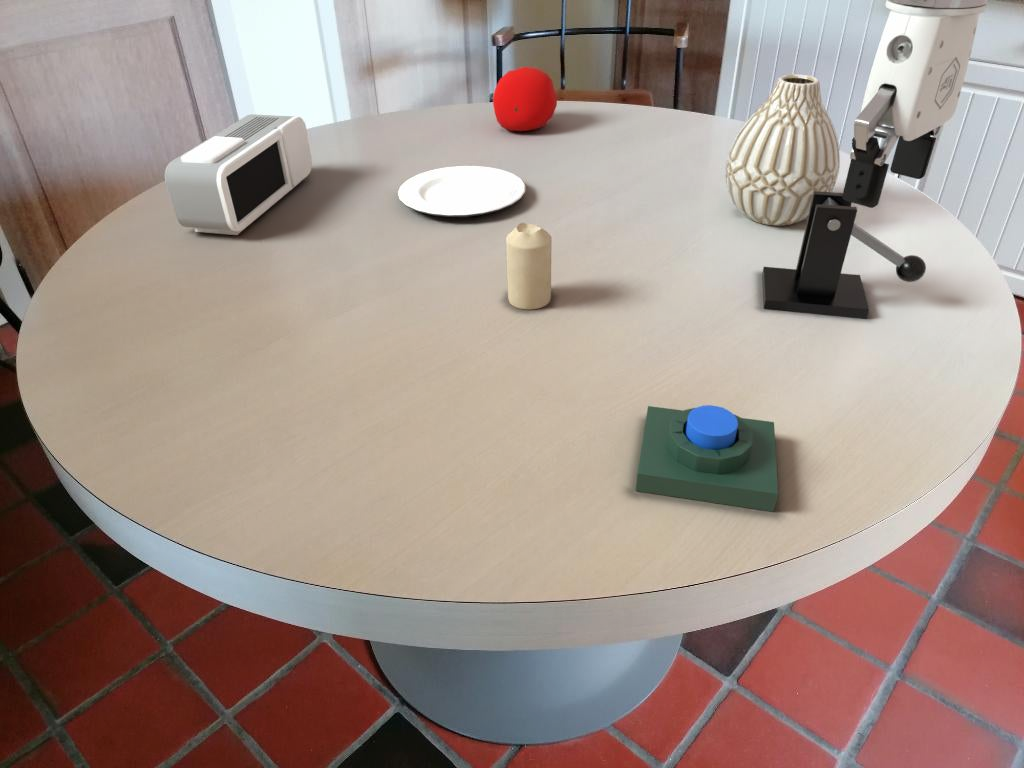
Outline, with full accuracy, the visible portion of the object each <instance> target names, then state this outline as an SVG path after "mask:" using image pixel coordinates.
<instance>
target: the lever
mask: <svg viewBox="0 0 1024 768" xmlns="http://www.w3.org/2000/svg"><path fill="white" fill-rule="evenodd" d="M822 205H835V206H841V205H840V204H838V203H837V202H835V201H834V200H832V199H831V198H829V197H828V198H827V199H826V201H825V202H824V203H823V204H822ZM851 236H852V237H853V238H855V239H856V240H858V241H859V242H861V243H862V244H864V245H865V246H867V247H868V248H870V249H871V250H873V251H874V252H876V253H877V254H879V255H880V256H881V257H883V258H884V259H886V260H887V261H889V262H890V263H892V264H893V265H895V273H896V275H897V277H898V278H899V279H900V280H901V281H903V282H906V283H914V282H917V281H919V280H921V279H922V277H924V275H925V274H926V271H927V265H926V262H925V260H924V259H923V258H922V257H920V256H918V255H913V254H911V255H910V254H909V255H905V256H903V255H901V254H900V253H899V252H897V251H895V250H894V249H892V248H891V247H890V246H888V245H886V244H885V243H883V242H882V241H881V240H879V239H878V238H876V237H875V236H873V235H872V234H871V233H869V232H868V231H866V230H865V229H863V228H862V227H861V226H859V225H857V224H856V223H854V225H853V229H852V233H851Z"/></svg>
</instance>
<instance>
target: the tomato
mask: <svg viewBox="0 0 1024 768" xmlns="http://www.w3.org/2000/svg"><path fill="white" fill-rule="evenodd" d="M557 96H558V95H557V93H556V90H555V87H554V83H553V79H552V78H551V76H550V75H549V74H548V73H546V71H543V70H542V69H540V68H537V67H532V66H522V67H518V68H516V69H513V70H508V71H507V72H506V73H505V74H503V76H502V77H500V79H499V80H498V82H497V83H496V86H495V88H494V91H493V97H492V105H493V111H494V115H495V119H496V121H497V122H498V124H499V125H500V127H501V128H502V129H505V130H507V131H508V132H527V131H535V130H537V129H540V128H541V127H543V126H546V125H547V124H548V123H549V121H550V120H551V119H552V118H553V117H554V114H555V111H556V109H557V105H558V101H557V100H558V99H557V98H558V97H557Z"/></svg>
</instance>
